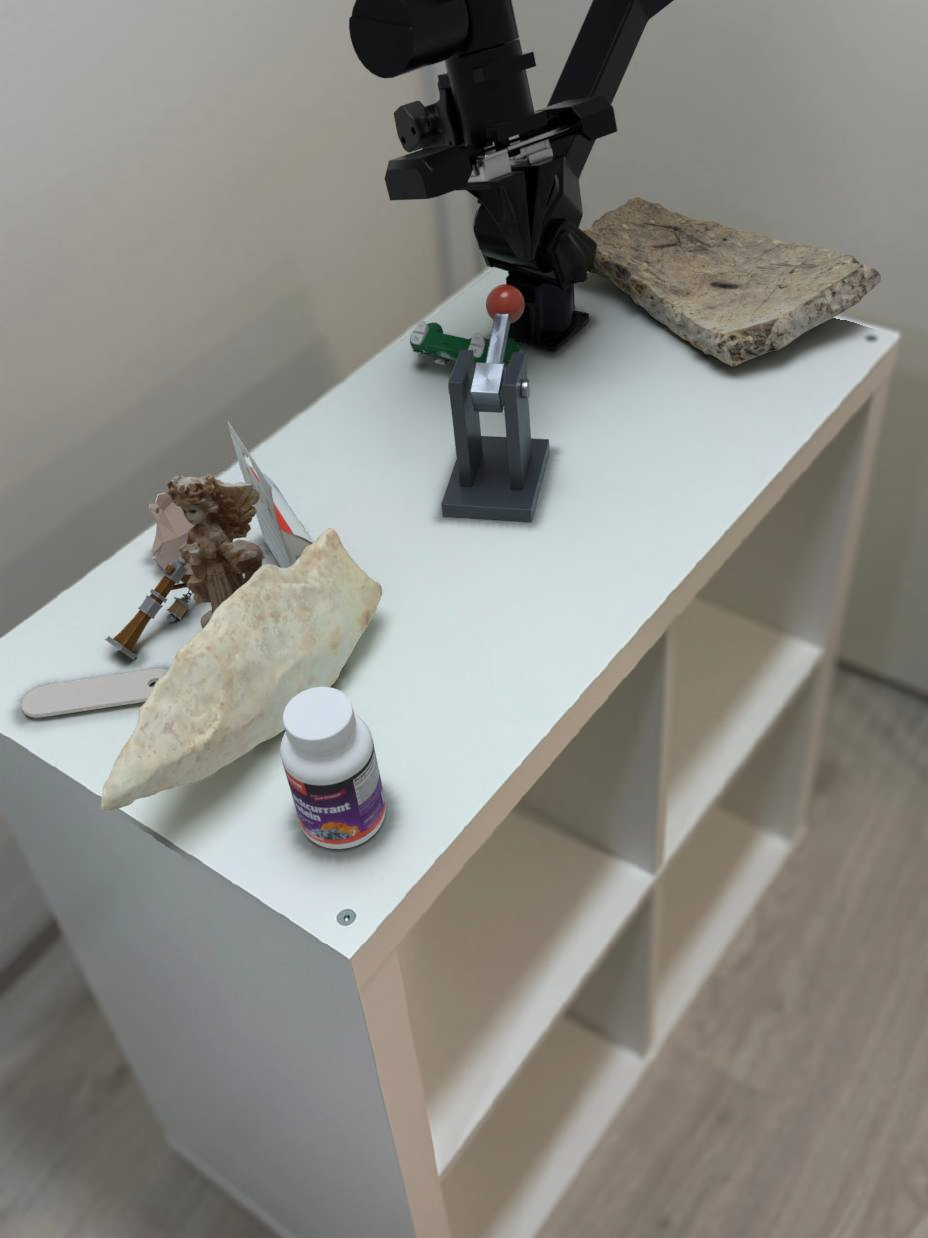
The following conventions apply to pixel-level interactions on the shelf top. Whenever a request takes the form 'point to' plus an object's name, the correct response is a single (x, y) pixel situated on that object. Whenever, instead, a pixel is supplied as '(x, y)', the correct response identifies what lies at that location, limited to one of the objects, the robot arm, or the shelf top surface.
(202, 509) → the figurine
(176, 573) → the wooden post with brackets
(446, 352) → the gaming controller
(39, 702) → the keychain
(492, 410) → the lever
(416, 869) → the shelf top surface
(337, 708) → the pill bottle
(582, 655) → the shelf top surface
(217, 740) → the arrowhead
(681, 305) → the stone fragment
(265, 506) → the ink box
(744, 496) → the shelf top surface
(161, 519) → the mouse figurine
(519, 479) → the bracket
